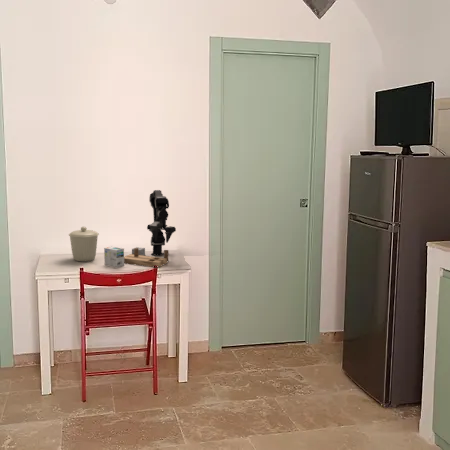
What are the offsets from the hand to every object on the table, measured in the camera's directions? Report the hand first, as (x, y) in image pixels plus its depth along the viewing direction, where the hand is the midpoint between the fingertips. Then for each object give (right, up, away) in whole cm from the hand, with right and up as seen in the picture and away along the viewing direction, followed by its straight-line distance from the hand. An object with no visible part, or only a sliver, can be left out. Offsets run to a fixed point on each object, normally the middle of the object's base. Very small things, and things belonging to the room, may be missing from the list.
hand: (161, 241), depth 369 cm
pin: (+3, -12, +1) cm, 13 cm away
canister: (-48, -12, +1) cm, 50 cm away
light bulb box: (-27, -14, -11) cm, 33 cm away
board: (-10, -13, -4) cm, 17 cm away
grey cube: (-16, -11, +9) cm, 21 cm away
